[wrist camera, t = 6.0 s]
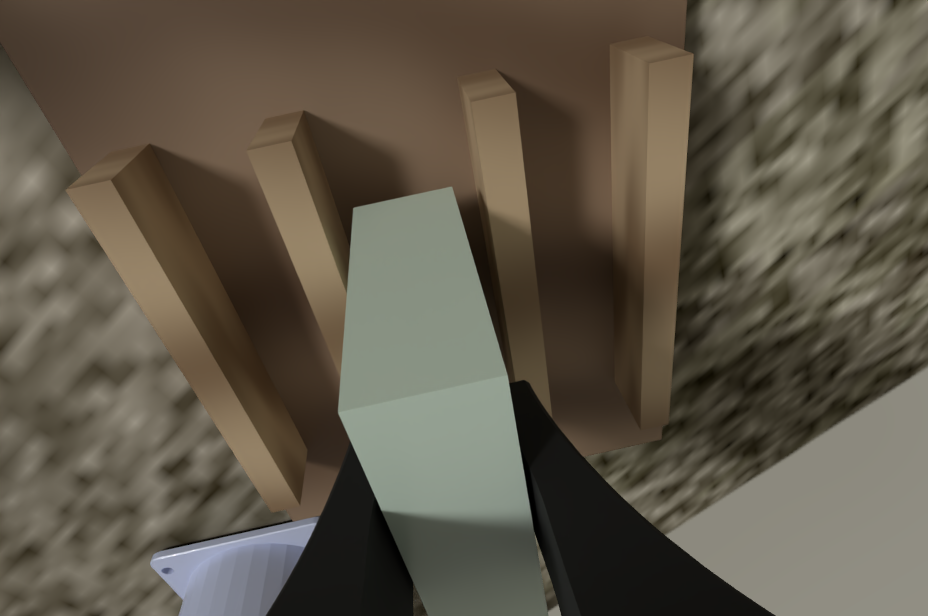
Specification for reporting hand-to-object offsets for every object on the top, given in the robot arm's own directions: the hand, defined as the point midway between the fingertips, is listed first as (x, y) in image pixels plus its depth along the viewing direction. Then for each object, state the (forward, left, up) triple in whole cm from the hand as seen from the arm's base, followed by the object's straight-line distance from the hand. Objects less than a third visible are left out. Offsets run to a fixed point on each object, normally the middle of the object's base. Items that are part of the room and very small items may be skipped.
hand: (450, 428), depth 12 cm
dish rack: (0, 0, -7) cm, 7 cm away
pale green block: (0, 0, -4) cm, 4 cm away
